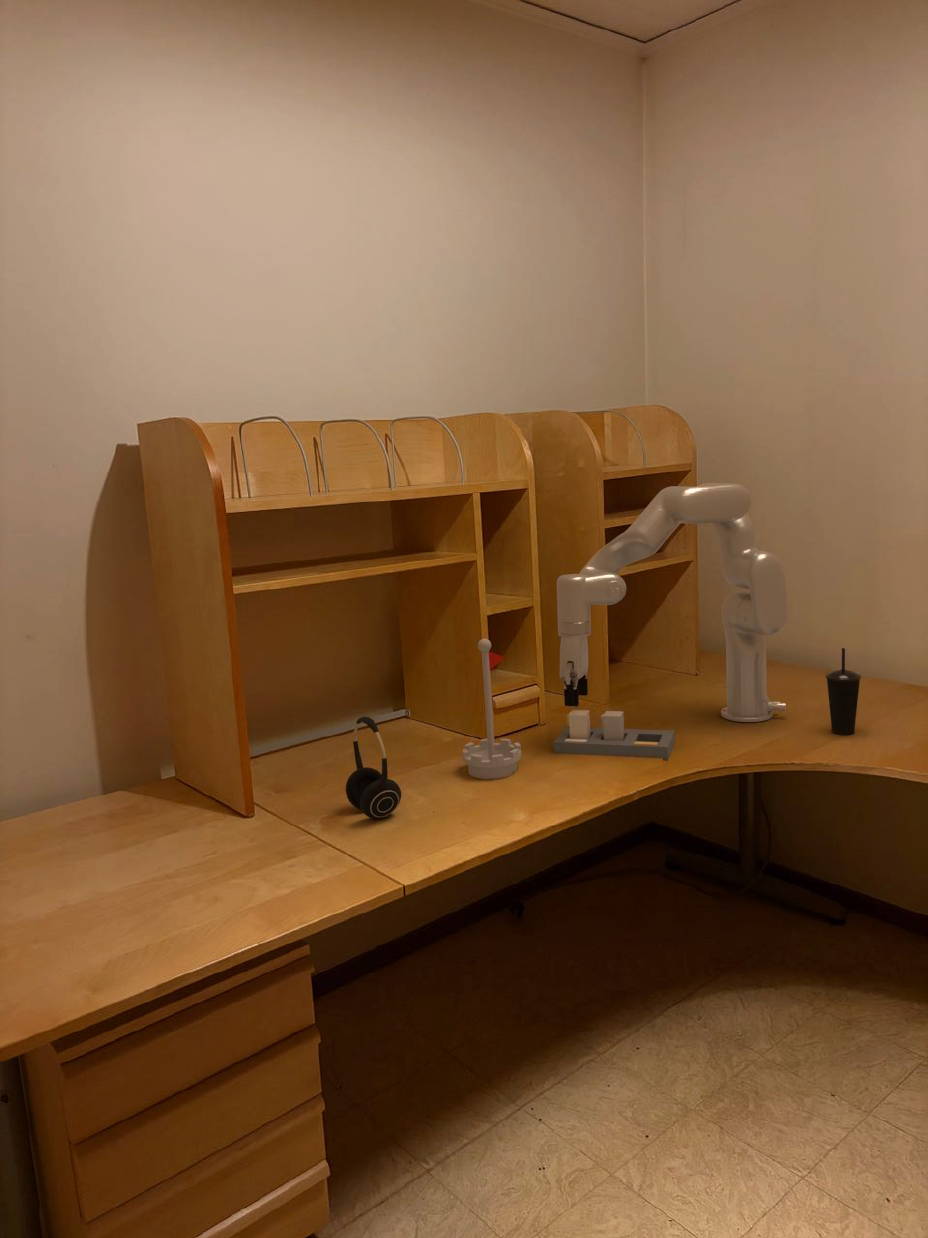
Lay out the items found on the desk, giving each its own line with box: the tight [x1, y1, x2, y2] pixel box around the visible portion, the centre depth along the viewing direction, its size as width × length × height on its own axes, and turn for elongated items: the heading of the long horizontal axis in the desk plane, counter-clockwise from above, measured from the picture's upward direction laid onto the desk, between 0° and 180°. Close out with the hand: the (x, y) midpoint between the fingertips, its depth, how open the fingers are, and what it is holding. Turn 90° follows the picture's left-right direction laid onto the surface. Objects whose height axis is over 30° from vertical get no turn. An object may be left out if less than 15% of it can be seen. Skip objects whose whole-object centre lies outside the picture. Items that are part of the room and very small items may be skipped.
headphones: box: [345, 716, 402, 820], centre depth 186 cm, size 9×15×20 cm, turn 30°
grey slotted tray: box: [552, 710, 676, 761], centre depth 216 cm, size 26×12×8 cm, turn 71°
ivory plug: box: [566, 709, 591, 739], centre depth 219 cm, size 5×4×8 cm
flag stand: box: [461, 638, 522, 780], centre depth 205 cm, size 13×13×30 cm
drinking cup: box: [825, 647, 862, 736], centre depth 215 cm, size 8×8×20 cm
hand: (576, 700), depth 217 cm, fingers open, 9 cm apart
